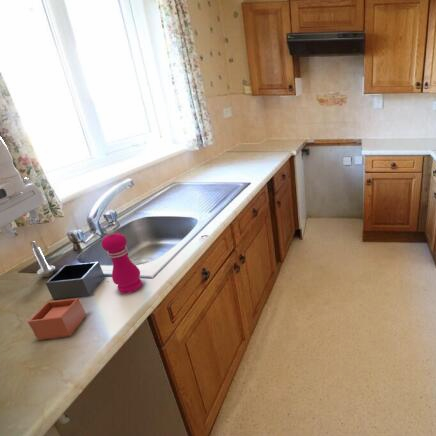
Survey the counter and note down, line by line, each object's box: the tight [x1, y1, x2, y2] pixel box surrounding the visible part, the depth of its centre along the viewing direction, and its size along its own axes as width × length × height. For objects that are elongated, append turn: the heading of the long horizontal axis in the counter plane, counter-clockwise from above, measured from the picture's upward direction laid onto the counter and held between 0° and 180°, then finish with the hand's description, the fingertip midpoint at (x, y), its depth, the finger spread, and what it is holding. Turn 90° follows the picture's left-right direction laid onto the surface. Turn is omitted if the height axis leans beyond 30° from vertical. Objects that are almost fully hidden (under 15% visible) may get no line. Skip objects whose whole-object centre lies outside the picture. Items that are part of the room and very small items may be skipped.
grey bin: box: [45, 261, 106, 301], centre depth 99 cm, size 10×10×6 cm
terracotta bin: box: [27, 297, 87, 341], centre depth 83 cm, size 8×8×6 cm
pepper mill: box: [101, 228, 143, 294], centre depth 95 cm, size 7×7×20 cm
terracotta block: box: [42, 306, 69, 319], centre depth 83 cm, size 4×4×4 cm
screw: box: [29, 240, 57, 278], centre depth 105 cm, size 13×5×5 cm
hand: (24, 229), depth 98 cm, fingers open, 8 cm apart
